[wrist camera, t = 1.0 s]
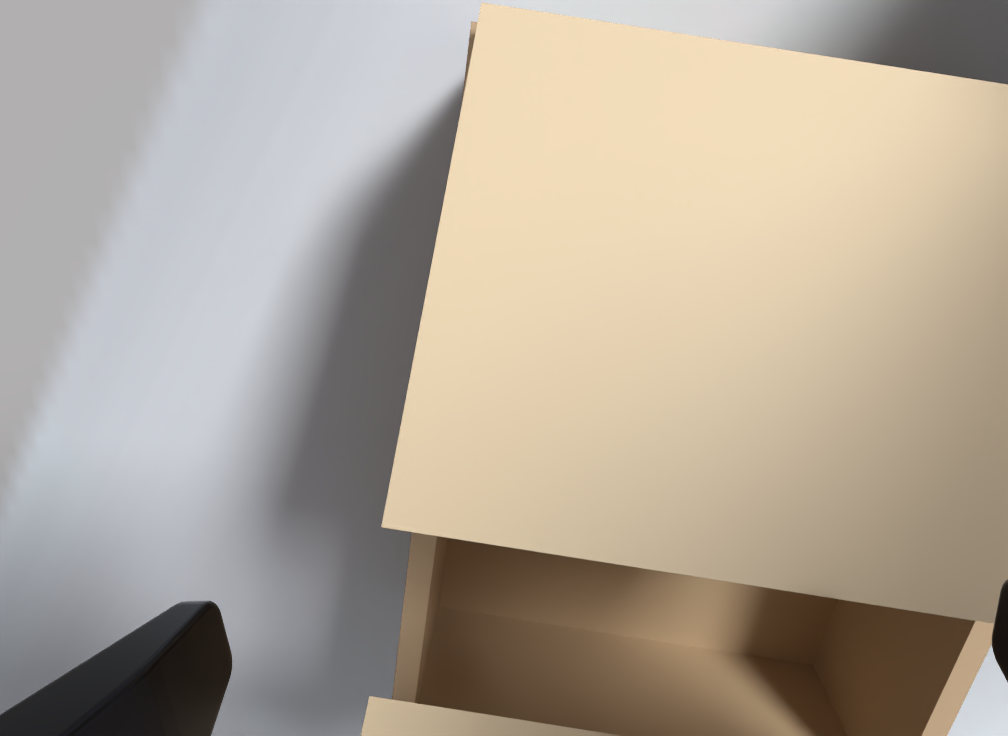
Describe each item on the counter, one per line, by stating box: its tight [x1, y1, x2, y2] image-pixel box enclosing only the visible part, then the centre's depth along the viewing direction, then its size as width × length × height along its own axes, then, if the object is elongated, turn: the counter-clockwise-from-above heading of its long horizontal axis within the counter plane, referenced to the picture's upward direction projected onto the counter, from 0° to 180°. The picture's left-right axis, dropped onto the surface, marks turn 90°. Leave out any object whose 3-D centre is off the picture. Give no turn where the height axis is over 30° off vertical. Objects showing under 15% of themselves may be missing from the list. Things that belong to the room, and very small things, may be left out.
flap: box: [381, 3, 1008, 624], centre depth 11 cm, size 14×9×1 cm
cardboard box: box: [392, 21, 994, 736], centre depth 19 cm, size 14×18×6 cm
